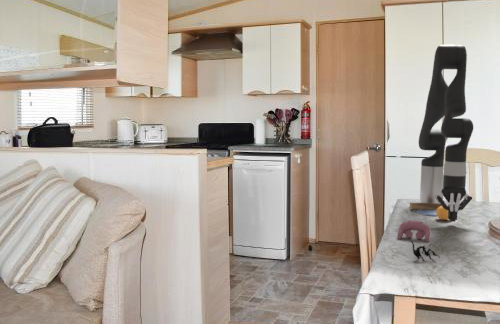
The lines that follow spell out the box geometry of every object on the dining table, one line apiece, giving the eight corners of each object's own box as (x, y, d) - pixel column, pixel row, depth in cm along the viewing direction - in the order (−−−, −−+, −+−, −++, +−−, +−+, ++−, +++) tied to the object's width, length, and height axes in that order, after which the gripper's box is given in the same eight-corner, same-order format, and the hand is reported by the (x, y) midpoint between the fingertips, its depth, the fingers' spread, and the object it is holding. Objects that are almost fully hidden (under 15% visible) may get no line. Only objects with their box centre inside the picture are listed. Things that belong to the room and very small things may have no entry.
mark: (412, 209, 210) (412, 209, 210) (444, 210, 210) (444, 209, 209) (421, 215, 197) (421, 215, 197) (455, 216, 197) (455, 216, 197)
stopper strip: (409, 208, 213) (410, 202, 212) (443, 209, 212) (443, 203, 212) (411, 209, 211) (411, 203, 210) (444, 209, 210) (445, 204, 210)
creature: (431, 259, 143) (405, 254, 142) (436, 241, 142) (410, 235, 141) (444, 268, 135) (416, 262, 134) (449, 249, 134) (421, 243, 134)
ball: (436, 202, 190) (440, 213, 186) (451, 202, 190) (455, 214, 186) (433, 211, 194) (436, 222, 190) (447, 211, 194) (450, 223, 190)
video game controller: (430, 244, 160) (431, 223, 162) (429, 241, 156) (430, 220, 158) (398, 241, 164) (400, 220, 166) (396, 238, 160) (398, 217, 162)
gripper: (469, 172, 183) (466, 219, 185) (432, 172, 184) (430, 218, 185) (477, 175, 176) (474, 223, 177) (439, 174, 176) (437, 223, 178)
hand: (452, 221), depth 181 cm, fingers closed
